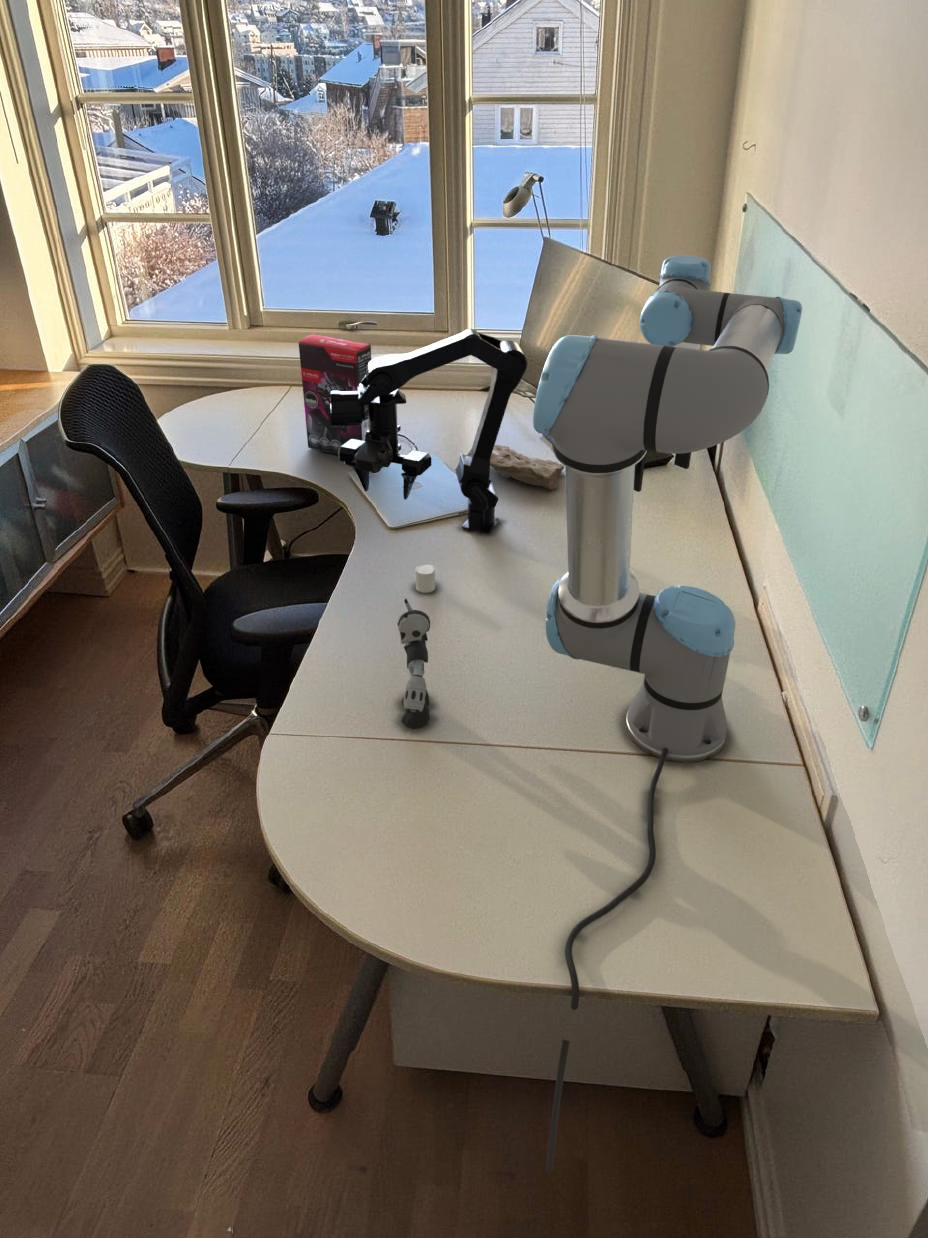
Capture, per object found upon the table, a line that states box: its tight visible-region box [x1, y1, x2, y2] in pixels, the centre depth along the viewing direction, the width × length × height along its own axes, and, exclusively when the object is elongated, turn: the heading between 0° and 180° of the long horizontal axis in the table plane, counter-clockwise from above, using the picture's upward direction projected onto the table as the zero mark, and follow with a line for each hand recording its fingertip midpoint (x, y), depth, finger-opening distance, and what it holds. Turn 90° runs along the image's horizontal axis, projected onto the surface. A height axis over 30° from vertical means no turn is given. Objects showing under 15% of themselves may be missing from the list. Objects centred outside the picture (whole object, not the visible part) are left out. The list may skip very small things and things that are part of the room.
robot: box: [396, 598, 431, 729], centre depth 141 cm, size 20×5×20 cm, turn 3°
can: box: [415, 564, 436, 594], centre depth 176 cm, size 4×4×4 cm
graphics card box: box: [297, 333, 372, 455], centre depth 223 cm, size 17×7×27 cm, turn 62°
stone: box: [490, 444, 565, 490], centre depth 217 cm, size 21×15×6 cm
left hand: (386, 494), depth 192 cm, fingers open, 9 cm apart
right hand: (658, 477), depth 162 cm, fingers open, 13 cm apart
